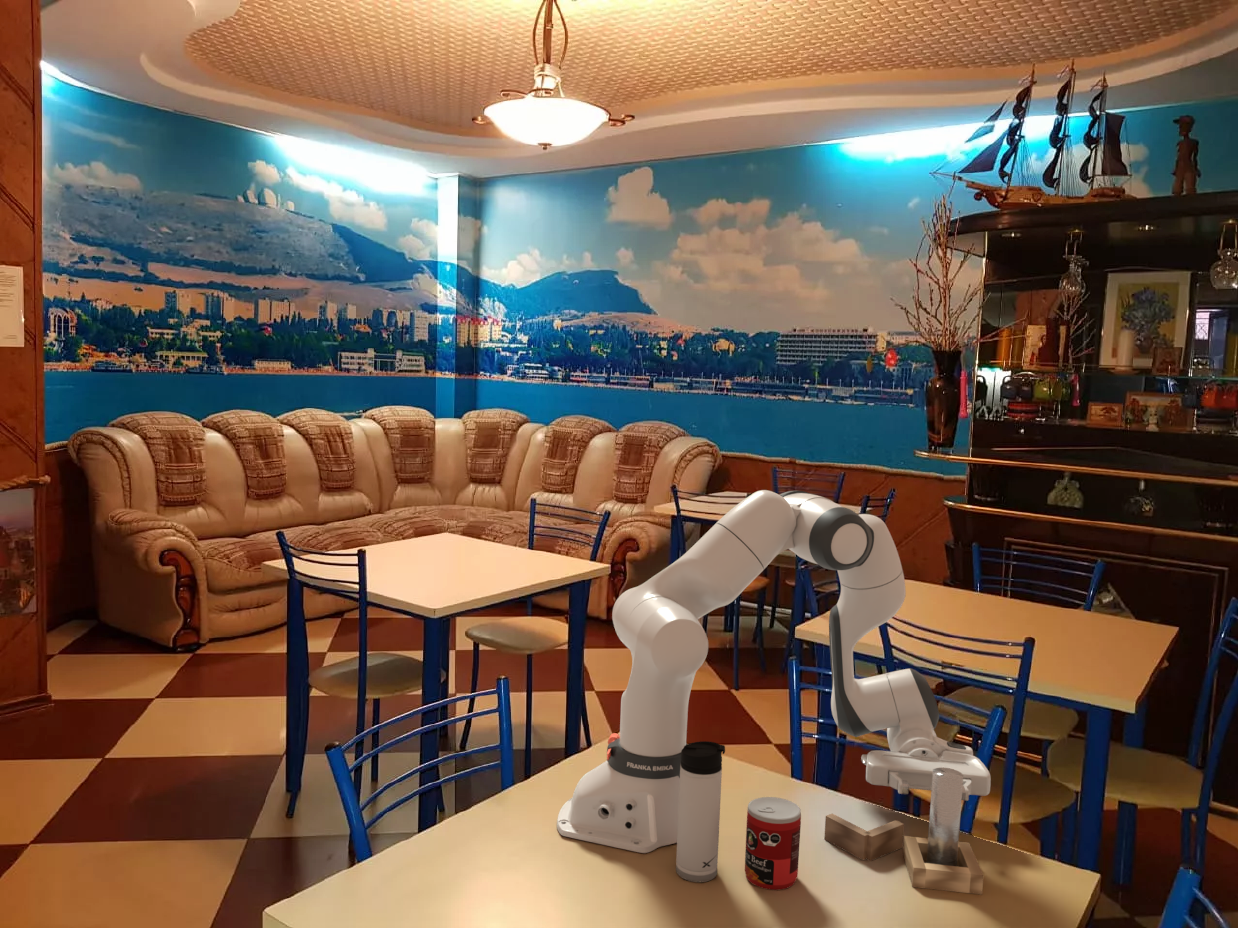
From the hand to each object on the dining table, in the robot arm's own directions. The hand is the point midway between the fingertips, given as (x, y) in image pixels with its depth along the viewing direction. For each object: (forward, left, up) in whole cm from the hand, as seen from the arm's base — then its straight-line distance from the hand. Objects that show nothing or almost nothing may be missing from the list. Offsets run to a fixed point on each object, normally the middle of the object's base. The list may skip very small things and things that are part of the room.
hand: (933, 792), depth 153 cm
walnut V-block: (-11, -4, -9) cm, 15 cm away
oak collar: (0, -9, -9) cm, 13 cm away
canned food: (-26, -16, -9) cm, 32 cm away
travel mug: (-37, -17, -9) cm, 42 cm away
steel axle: (0, -9, -9) cm, 13 cm away
